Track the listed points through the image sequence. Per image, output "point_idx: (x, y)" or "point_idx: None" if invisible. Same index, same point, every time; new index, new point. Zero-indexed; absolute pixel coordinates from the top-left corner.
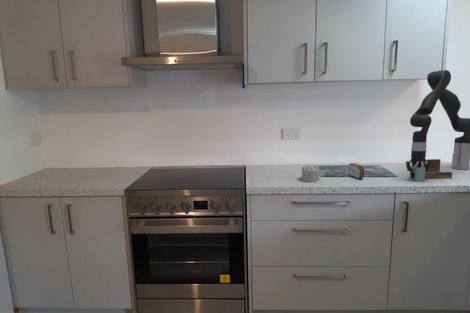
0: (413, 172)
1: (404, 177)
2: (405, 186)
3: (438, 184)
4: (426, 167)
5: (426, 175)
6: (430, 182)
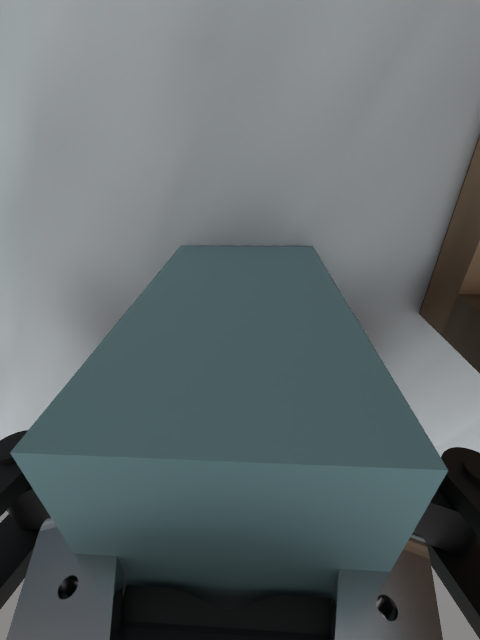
0: None
1: (119, 154)
2: None
3: None
4: (469, 613)
5: (453, 341)
6: None
